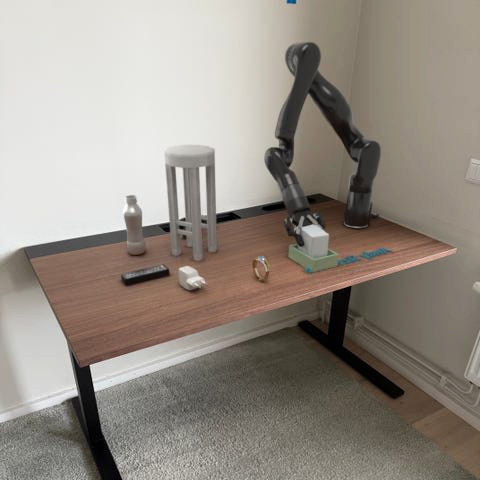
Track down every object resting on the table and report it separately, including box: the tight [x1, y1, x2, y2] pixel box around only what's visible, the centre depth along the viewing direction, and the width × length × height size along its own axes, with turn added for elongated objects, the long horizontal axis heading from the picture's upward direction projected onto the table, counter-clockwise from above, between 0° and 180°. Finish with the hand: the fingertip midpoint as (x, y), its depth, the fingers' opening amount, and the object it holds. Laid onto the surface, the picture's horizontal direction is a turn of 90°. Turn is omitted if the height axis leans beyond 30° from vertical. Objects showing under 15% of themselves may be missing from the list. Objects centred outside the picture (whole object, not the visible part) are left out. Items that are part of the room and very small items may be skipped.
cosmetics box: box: [298, 223, 330, 259], centre depth 158 cm, size 10×6×10 cm, turn 19°
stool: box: [163, 144, 218, 262], centre depth 158 cm, size 16×16×35 cm
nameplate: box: [304, 247, 393, 275], centre depth 162 cm, size 37×1×5 cm
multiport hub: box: [120, 263, 170, 287], centre depth 149 cm, size 4×14×2 cm, turn 122°
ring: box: [251, 255, 270, 282], centre depth 147 cm, size 7×3×8 cm, turn 31°
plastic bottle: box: [122, 194, 147, 255], centre depth 162 cm, size 6×7×20 cm
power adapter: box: [177, 265, 209, 291], centre depth 141 cm, size 11×5×6 cm, turn 39°
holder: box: [287, 243, 340, 273], centre depth 160 cm, size 10×14×4 cm
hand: (312, 243), depth 159 cm, fingers open, 8 cm apart
